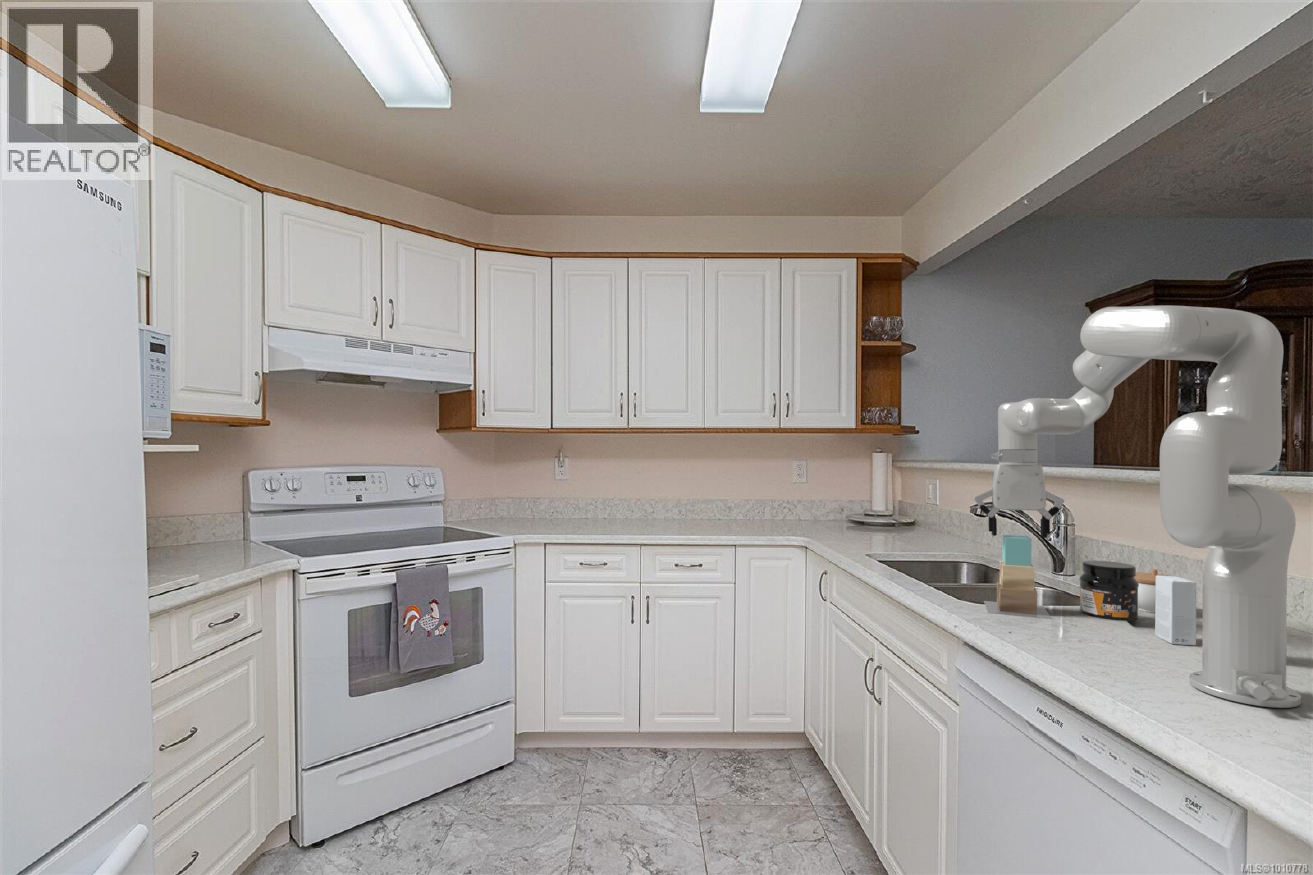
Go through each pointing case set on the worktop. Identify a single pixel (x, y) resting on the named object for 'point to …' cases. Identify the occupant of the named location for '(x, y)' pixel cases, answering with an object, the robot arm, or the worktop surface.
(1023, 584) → the oak mid block
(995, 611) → the slate board
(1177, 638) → the skincare box
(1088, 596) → the supplement container
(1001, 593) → the walnut base block
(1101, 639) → the worktop surface
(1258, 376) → the robot arm
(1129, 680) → the worktop surface
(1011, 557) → the teal block
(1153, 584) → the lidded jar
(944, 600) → the worktop surface
